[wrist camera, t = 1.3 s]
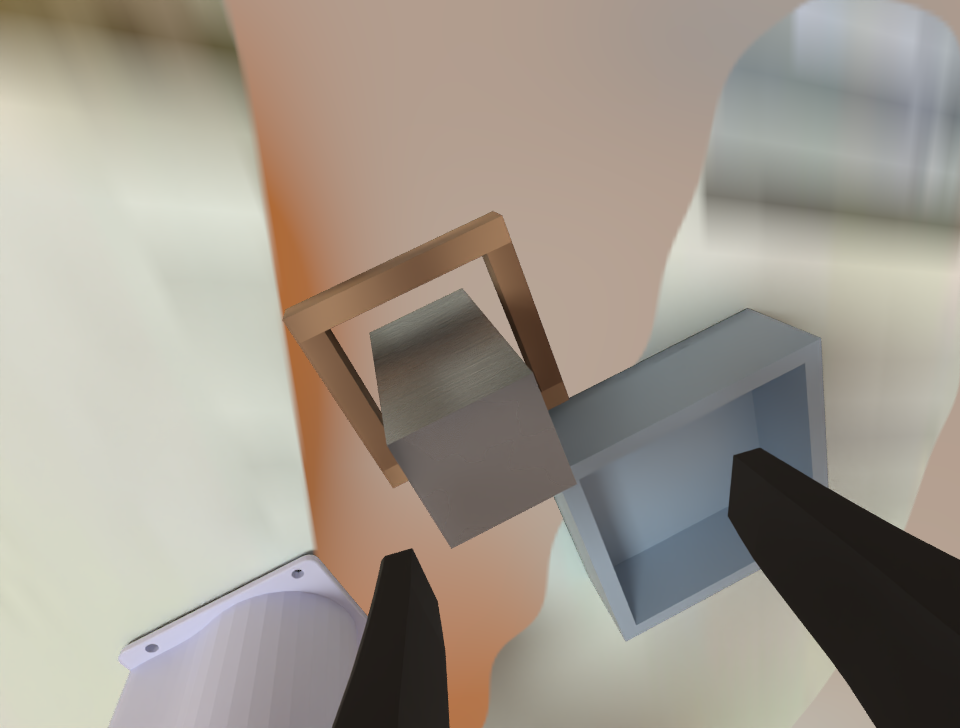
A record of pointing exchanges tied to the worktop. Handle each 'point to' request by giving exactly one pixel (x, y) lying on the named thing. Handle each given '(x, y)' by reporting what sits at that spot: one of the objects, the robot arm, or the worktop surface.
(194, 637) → the robot arm
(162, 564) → the worktop surface
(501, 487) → the strut
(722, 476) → the bin
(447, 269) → the socket
